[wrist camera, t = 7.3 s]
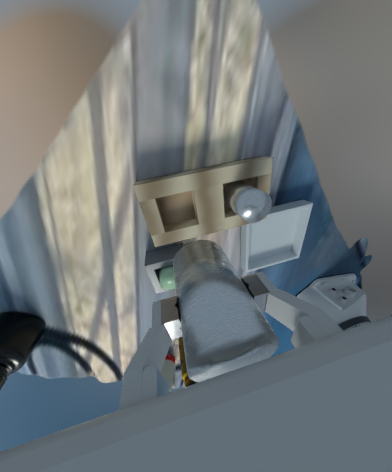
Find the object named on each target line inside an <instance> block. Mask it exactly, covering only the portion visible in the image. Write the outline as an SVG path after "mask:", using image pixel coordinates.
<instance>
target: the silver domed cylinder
mask: <svg viewBox="0 0 392 472" xmlns="http://www.w3.org/2000/svg"><path fill="white" fill-rule="evenodd" d="M223 197H224V203H225V204H226V205H227V206H228V207H229V208H230V209H232V210H233V211H234V212H235V213H236V214H238V215H239V216H240V217H241V218H242V219H243V220H245V221H246V222H248V223H257V222H259V221H261V220H263V219H264V218H265V217H266V216H267V215H268V213H269V212H270V209H271V206H272V200H271V197H270V195H269V194H268V193H266V192H264V191H261V190H259V189H257V188H254V187H252V186H250V185H247V184H245V183H243V182H241V181H233V182H230V183H228V184H227V185H226V186H225V188H224V190H223Z"/></svg>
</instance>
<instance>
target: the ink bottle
mask: <svg viewBox="0 0 392 472" xmlns="http://www.w3.org/2000/svg"><path fill="white" fill-rule="evenodd" d="M44 330H45V324H44V322H43V321H42V320H40V319H39V318H37V317H35V316H32V315H28V314H23V313H3V314H0V390H1V388H2V386H3V385H4V383H5V382H6V380H7V376H9V375H10V374H12V373H14V372H16V371H17V370H19V369H20V368H21V367H22V366H23V365H24V364H25V362H26V361H27V359H28V357H29V356H30V354H31V352H32V351H33V349H34V347H35V346H36V344H37V342H38V341H39V339H40V337H41V336H42V334H43V332H44Z"/></svg>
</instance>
